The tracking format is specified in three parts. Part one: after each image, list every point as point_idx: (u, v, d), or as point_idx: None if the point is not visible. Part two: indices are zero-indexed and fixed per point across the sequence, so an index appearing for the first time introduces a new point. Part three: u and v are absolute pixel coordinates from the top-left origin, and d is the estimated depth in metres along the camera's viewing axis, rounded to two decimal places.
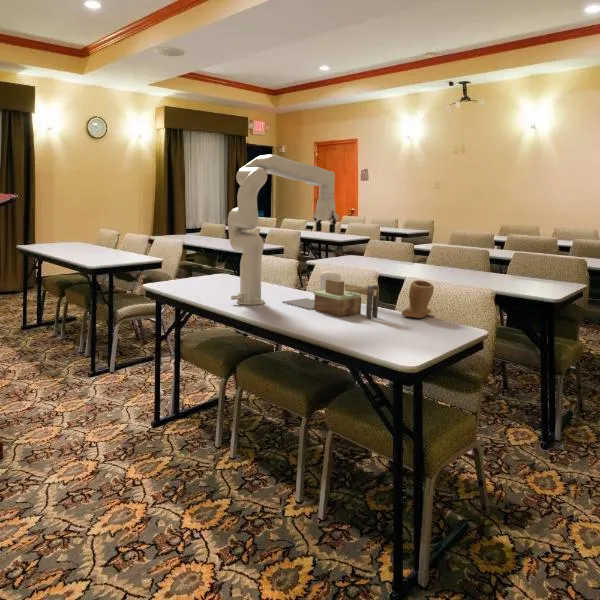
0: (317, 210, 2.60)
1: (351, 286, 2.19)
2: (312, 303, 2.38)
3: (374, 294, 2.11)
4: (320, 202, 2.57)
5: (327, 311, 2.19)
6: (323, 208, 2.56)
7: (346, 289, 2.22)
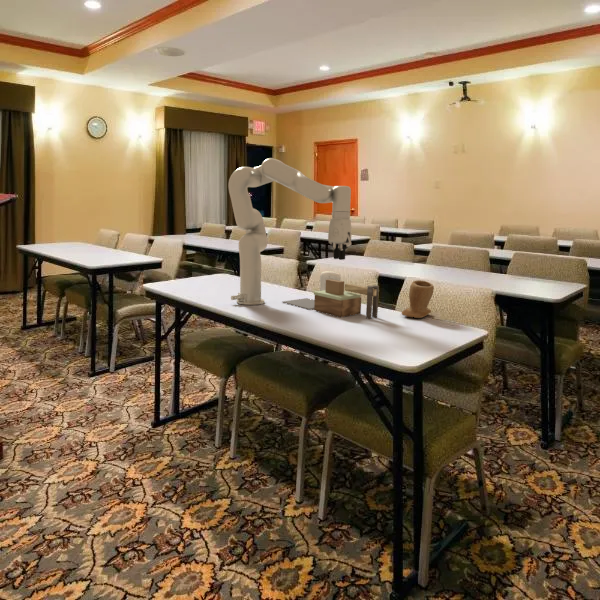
0: (330, 231, 2.23)
1: (351, 286, 2.19)
2: (312, 303, 2.38)
3: (374, 294, 2.11)
4: (334, 222, 2.21)
5: (327, 311, 2.19)
6: (337, 229, 2.20)
7: (346, 289, 2.22)
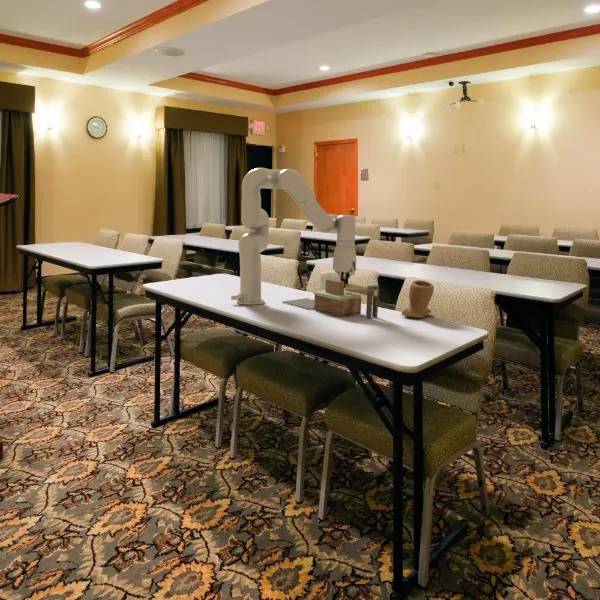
0: (335, 260, 2.23)
1: (352, 286, 2.19)
2: (312, 303, 2.38)
3: (375, 294, 2.11)
4: (339, 251, 2.20)
5: (327, 311, 2.19)
6: (342, 258, 2.19)
7: (347, 289, 2.22)
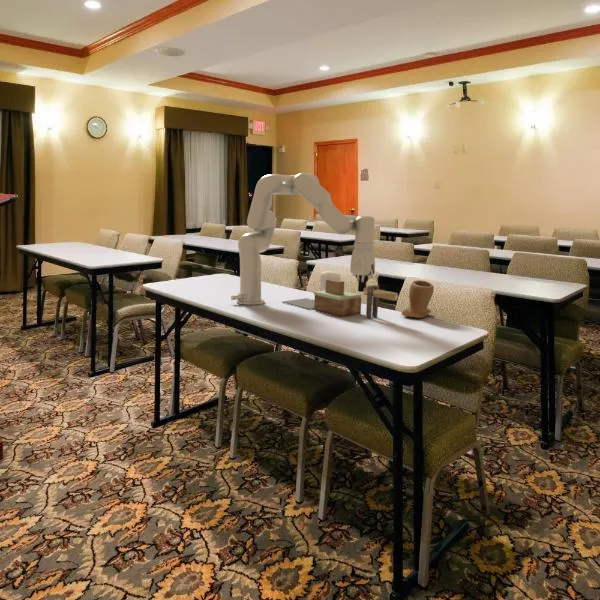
0: (352, 262, 2.15)
1: None
2: (312, 303, 2.38)
3: (395, 298, 2.03)
4: (357, 253, 2.13)
5: (327, 311, 2.19)
6: (360, 261, 2.12)
7: (365, 293, 2.14)
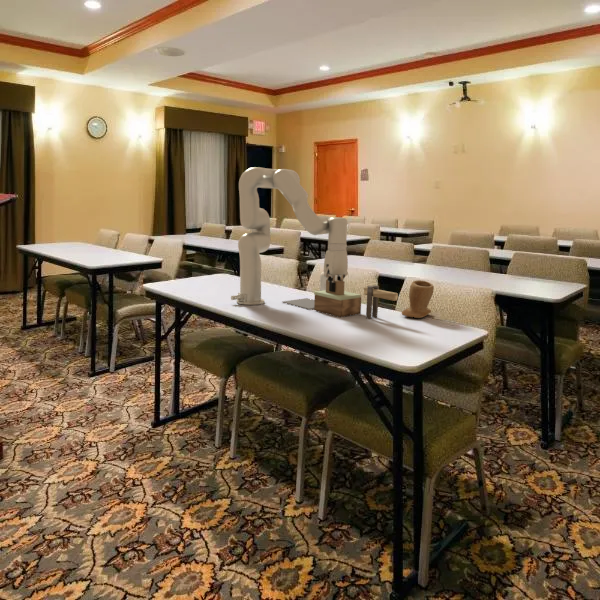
0: None
1: None
2: (312, 303, 2.38)
3: (395, 298, 2.03)
4: None
5: (327, 311, 2.19)
6: None
7: (365, 293, 2.14)
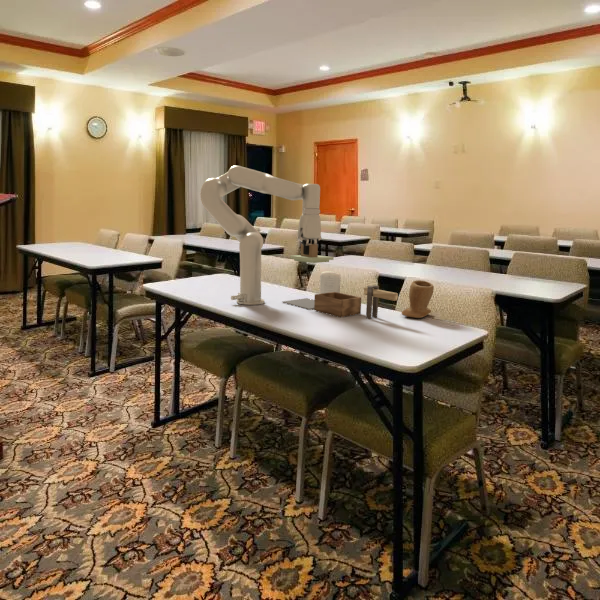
0: None
1: None
2: (312, 303, 2.38)
3: (395, 298, 2.03)
4: None
5: (327, 311, 2.19)
6: None
7: (365, 293, 2.14)
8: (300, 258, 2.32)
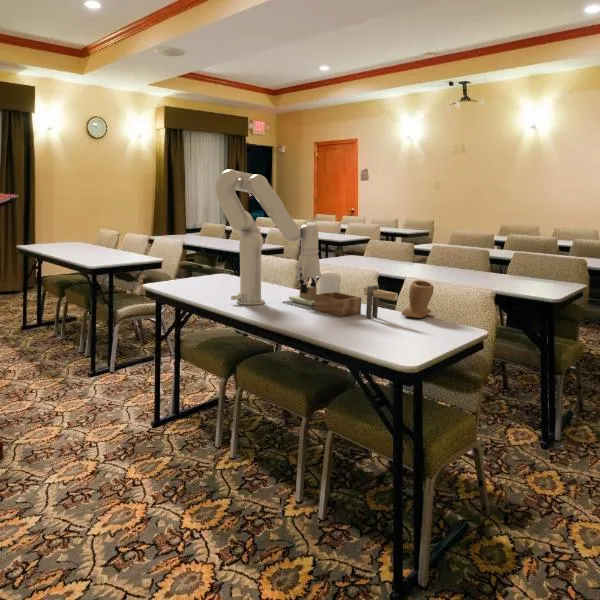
0: None
1: None
2: None
3: (395, 298, 2.03)
4: None
5: (327, 311, 2.19)
6: None
7: (365, 293, 2.14)
8: (299, 300, 2.35)
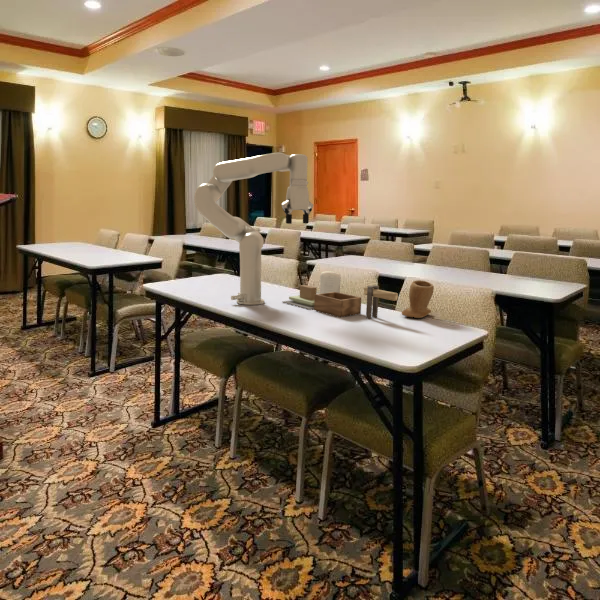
0: None
1: None
2: None
3: (395, 298, 2.03)
4: None
5: (327, 311, 2.19)
6: None
7: (365, 293, 2.14)
8: (299, 300, 2.35)
